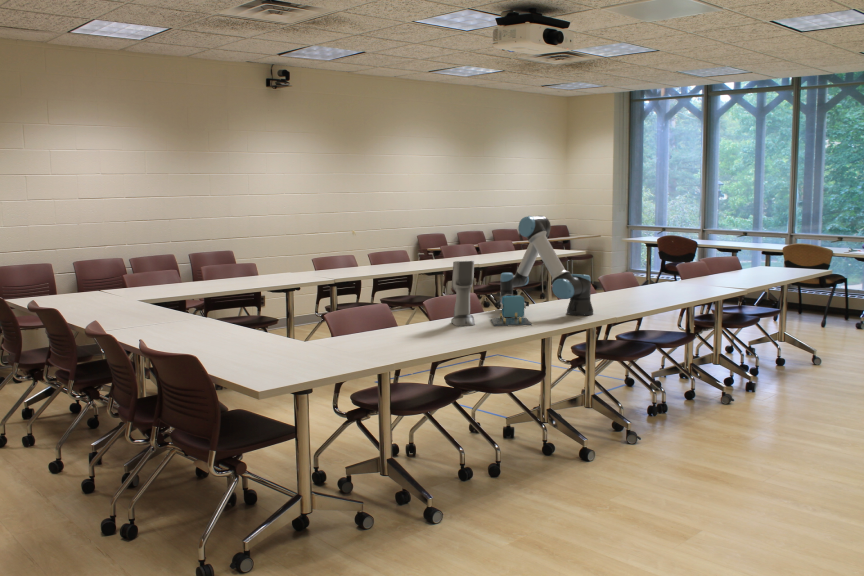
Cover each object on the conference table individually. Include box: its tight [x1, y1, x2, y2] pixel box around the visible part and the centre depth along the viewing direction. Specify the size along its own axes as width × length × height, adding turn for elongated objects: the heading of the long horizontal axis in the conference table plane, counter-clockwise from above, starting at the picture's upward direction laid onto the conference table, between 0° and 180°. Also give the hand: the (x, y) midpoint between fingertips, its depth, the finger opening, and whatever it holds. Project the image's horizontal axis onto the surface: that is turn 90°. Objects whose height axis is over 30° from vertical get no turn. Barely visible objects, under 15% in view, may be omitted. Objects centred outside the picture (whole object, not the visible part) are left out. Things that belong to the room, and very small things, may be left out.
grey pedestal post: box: [450, 260, 476, 327], centre depth 394 cm, size 12×13×35 cm
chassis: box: [489, 312, 532, 327], centre depth 398 cm, size 20×19×4 cm
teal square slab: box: [501, 294, 525, 318], centre depth 416 cm, size 12×4×12 cm, turn 99°
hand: (513, 306), depth 413 cm, fingers closed on teal square slab, 12 cm apart
